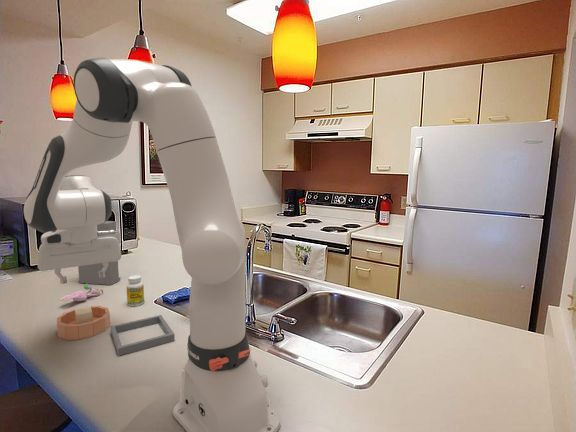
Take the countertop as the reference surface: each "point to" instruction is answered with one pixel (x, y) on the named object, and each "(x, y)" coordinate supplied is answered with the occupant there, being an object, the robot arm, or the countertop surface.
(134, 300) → the supplement bottle
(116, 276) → the tall grey upright pillar
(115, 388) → the countertop surface
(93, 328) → the bowl
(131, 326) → the grey rectangular frame
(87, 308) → the cream block
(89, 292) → the rabbit figure
